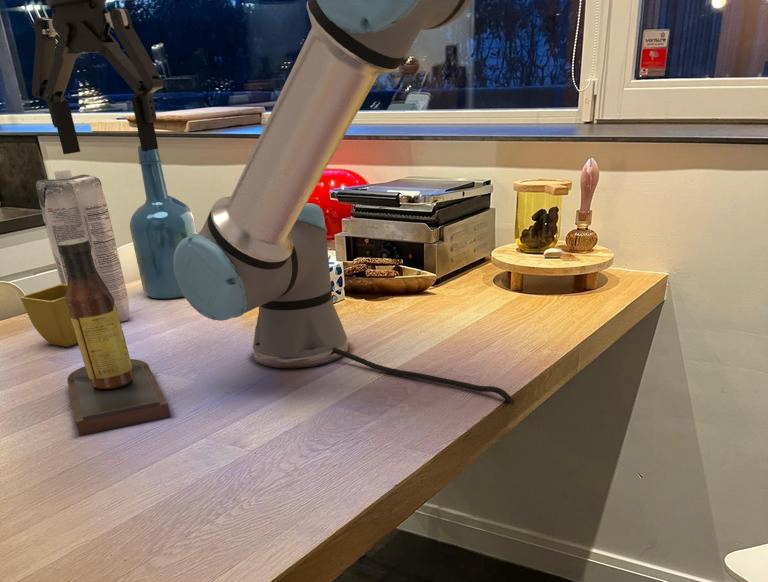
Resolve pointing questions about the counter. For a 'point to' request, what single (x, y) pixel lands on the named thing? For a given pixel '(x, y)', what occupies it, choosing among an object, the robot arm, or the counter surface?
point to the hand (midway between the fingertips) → (110, 151)
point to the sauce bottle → (95, 318)
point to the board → (116, 401)
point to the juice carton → (83, 228)
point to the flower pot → (51, 315)
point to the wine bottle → (158, 230)
